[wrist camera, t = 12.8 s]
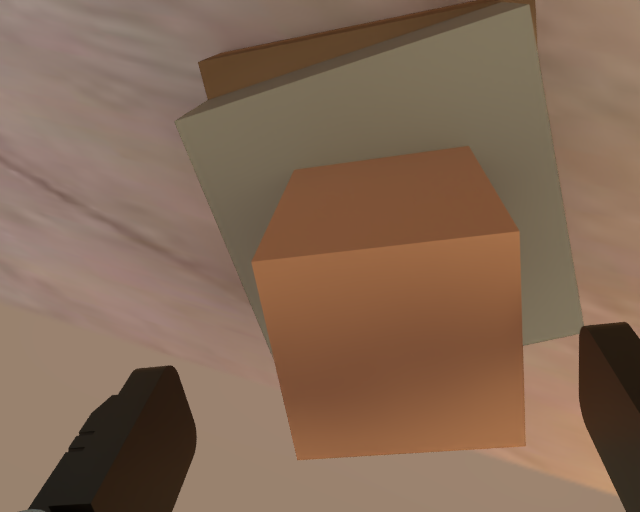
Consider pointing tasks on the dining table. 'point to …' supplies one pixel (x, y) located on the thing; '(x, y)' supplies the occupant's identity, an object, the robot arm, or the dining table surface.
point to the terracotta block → (395, 307)
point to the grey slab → (400, 141)
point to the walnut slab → (321, 47)
